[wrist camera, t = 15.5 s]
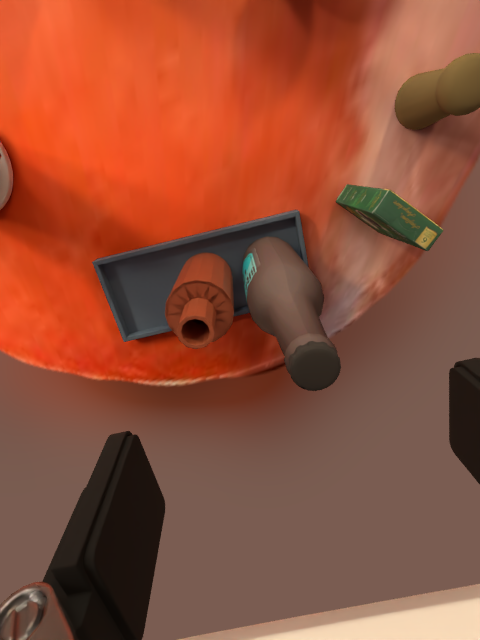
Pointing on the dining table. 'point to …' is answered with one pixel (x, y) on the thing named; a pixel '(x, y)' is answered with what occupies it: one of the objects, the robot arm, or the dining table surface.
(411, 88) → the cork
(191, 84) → the dining table surface
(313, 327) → the beer bottle
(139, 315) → the tray
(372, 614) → the robot arm
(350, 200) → the coffee box
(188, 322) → the terracotta bottle
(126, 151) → the dining table surface
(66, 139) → the dining table surface
